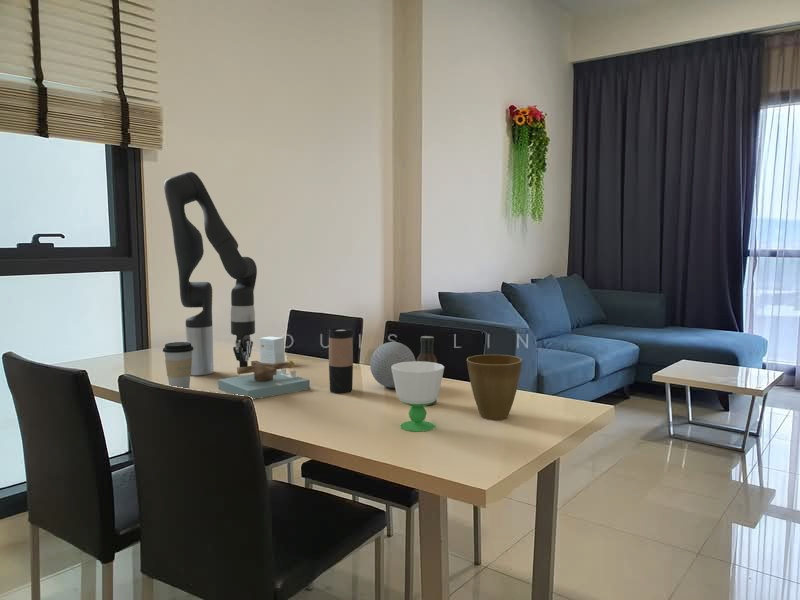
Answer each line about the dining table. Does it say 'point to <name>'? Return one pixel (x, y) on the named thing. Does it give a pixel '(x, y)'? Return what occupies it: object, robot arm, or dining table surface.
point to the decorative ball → (388, 361)
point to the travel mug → (340, 360)
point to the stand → (264, 385)
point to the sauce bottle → (427, 352)
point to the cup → (417, 390)
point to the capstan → (264, 369)
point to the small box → (272, 350)
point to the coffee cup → (178, 363)
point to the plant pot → (494, 383)
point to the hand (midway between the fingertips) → (243, 372)
